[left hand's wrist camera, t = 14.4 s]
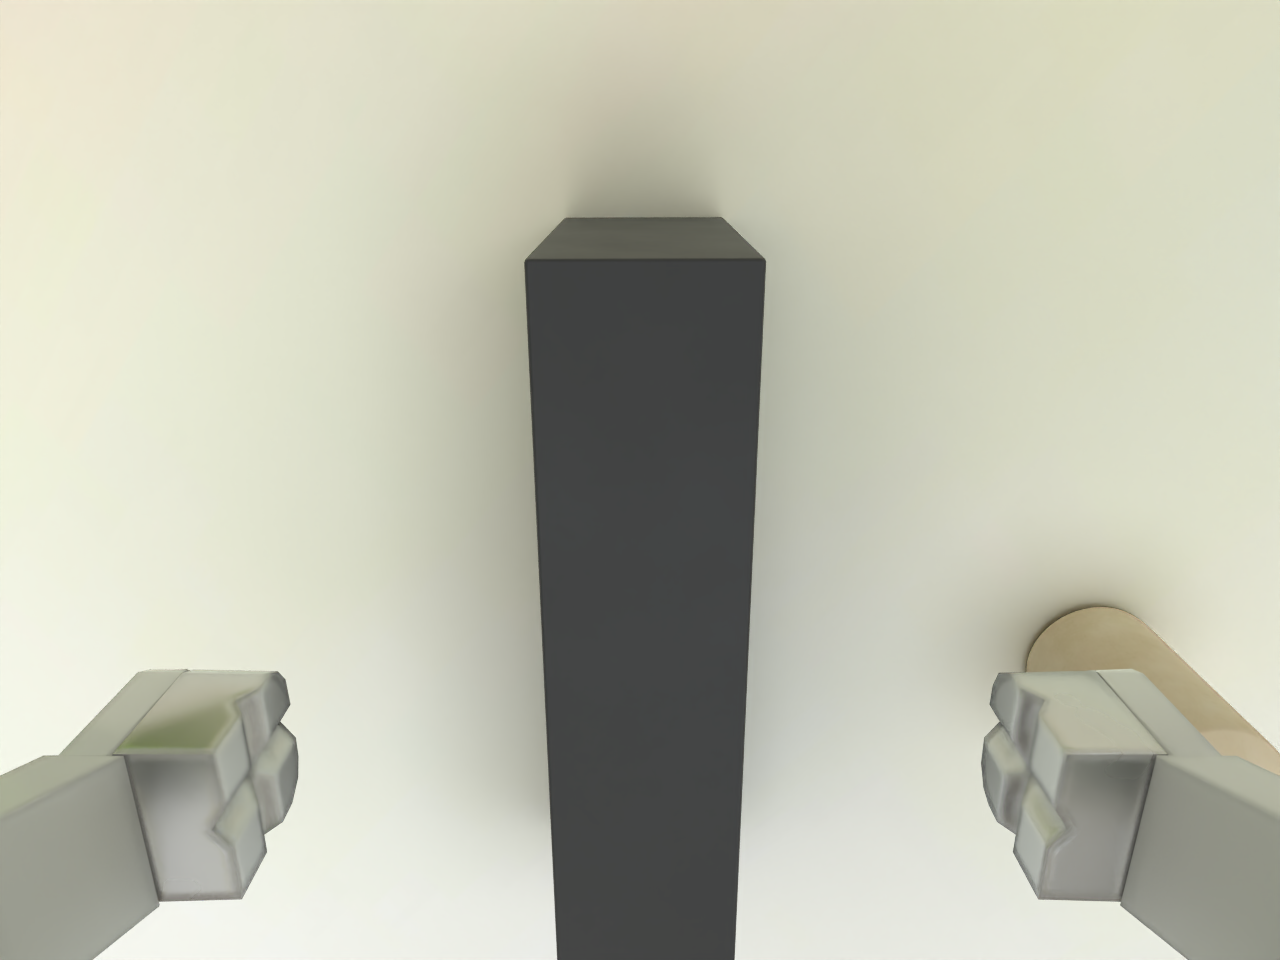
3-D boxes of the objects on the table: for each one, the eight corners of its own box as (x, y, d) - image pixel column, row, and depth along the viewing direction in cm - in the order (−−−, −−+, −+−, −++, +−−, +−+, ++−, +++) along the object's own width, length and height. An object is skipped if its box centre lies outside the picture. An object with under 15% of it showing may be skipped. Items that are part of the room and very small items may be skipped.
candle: (1165, 691, 39) (1328, 864, 30) (1040, 731, 40) (1162, 911, 31) (1140, 586, 38) (1306, 735, 28) (1010, 630, 38) (1130, 789, 29)
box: (563, 217, 33) (524, 259, 21) (723, 217, 33) (766, 258, 21) (583, 831, 42) (562, 1079, 31) (706, 830, 42) (729, 1079, 31)
